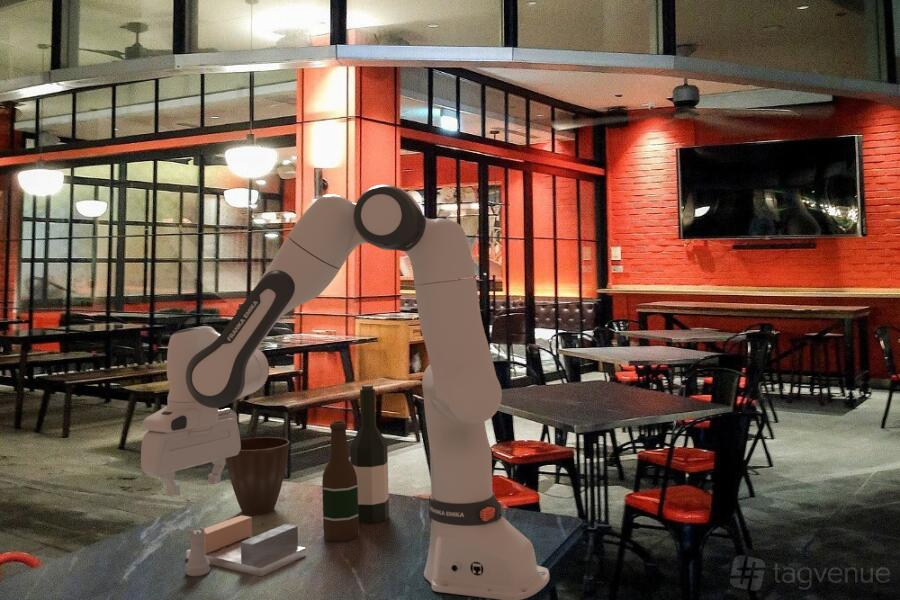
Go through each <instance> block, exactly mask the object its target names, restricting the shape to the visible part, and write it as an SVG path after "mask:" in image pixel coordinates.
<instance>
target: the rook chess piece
mask: <svg viewBox="0 0 900 600" xmlns="http://www.w3.org/2000/svg"><path fill="white" fill-rule="evenodd" d="M198 528H199V529H198ZM204 529H205V528H204V527H194V528H191V529H190V530H189V534H188V535H187V537H188V538H189V539H190V542H189V545H190V549H191V550H190V557H189V559H187V561H188V562H187V563H186V565H185V569H186V570H185V574H186V575H187V576H188V577H201V576H205V575H208V573H209V572H210V571H211V566H210V565H211V564H210V562H209V560H208V558H207V557H206V554H205V548H204V543H205V541H204V537H205V535H206V532H205V531H204Z"/></svg>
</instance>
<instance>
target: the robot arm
mask: <svg viewBox="0 0 900 600" xmlns="http://www.w3.org/2000/svg"><path fill="white" fill-rule="evenodd" d="M467 238H468V237H467V235H466V232H465V229H464V228H463V227H462V226H461V224H459V222H456V221H454V220H452V219H448V218H428V217H426V216H425V215H424V214H423V211H422V208H421V206H420V205H419V204H418V203H417V201H416V199H415V198H414V197H413V195H411V194H410V193H409V192H407V191H406V190H403V189H402V188H399V187H397V186H395V185H394V186H393V184H391V185H390V184H379V185H378V184H377V185H375V186H372V187H370V188H368V189H367V190H365V191H364V192H363V193H362V194H361V195H360V196H359V198H358V199H357V200H356V202H352V201H350V200H349V199H347V198H346V197H344V196H341V195H337V194H332V193H331V194H328V193H327V194H324V195H321V196H320V197H318V198H317V199H316V200H315V201H314V202H313V203H312V204H311V205H310V206H309V207H308V208H307V209H306V210H305V212H303V214H302V216H301V217H300V218H299V219H298V221H296V223H295V225H294V226H293V228H292V229H291V230H290V232H289V234H288V235H287V236H286V238H285V239H284V241H283V243H282V244H281V246H280V247H279V249H278V251H277V252H276V254H275V256H274V257H273V258H272V259H273V260H272V261H271V262H270V263H269V266H268V268H267V269H266V270H265V272H264V273H263V275H262V277H261V278H260V280H259V281H258V283H257V285H256V286H255V287H254V288H253V289H252V291H251V293H250V294H249V295H247V298H245V300H244V302H243V303H242V304H241V305H240V307H239V308H238V310H237V312H236V313H235V314H234V315H233V316H232V318H231V320H229V322H228V324H227V325H226V326H225V328H224V329H223V331H221V333H220V332H218V331H216V329H215V328H214V327H212V326H208V325H203V326H202V325H201V326H197V327H195V326H194V327H188V328H185V329H181V330H180V329H179V330H178V331H175V332H174V333H173V334H172V335H171V336H170V338H169V342H168V345H167V353H166V354H167V355H166V357H167V358H166V360H167V361H166V378H167V382H168V384H169V390H168V394H167V401H166V402H167V405H166V406H164V407H162V408H161V409H159V410H158V411H155V412H154V413H152V414H151V415H148V416H147V417H145V418H144V419H143V421H142V428H143V430H145V431H146V432H145V434H144V435H143V437H142V441H141V449H140V466H141V471H143V473H144V474H145V475H147V476H152V477H159V476H160V478H161V479H160V480H162V482H163V483H164V485H165V487H166V495H167V496H168V497H171V498H173V497H176V496H179V495H180V494H181V491H180V490H181V486H180V484H176V482H175V481H174V479H173V478H175V477H176V472H177V471H178V472H179V471H182V470H186V469H189V468H193V467H197V466H200V465H205V464H208V463H212V464H213V468H212V471H211V473H210V474H208V477H207V478H208V479H207V481H208V484H209V485H216V484H220V483H221V481H222V480H221V479H222V477H221V474H222V472H223V470H224V469H225V465H226V458H228V457H232V456H236V455H238V453H239V451H240V449H241V443H240V439H241V435H240V429H239V424H238V416H237V415H238V414H237V413H236V412H235V411H234V410H233V409H232V408H230V407H227V406H228V405H230V404H232V403H233V402H235V401H237V400H239V399H242V398H245V397H246V396H249V395H251V394H254V393H255V392H257V391H259V390H260V389H262V387H264V385H265V384H266V382H267V380H268V378H269V375H270V365H269V364H270V363H269V361H268V358H267V356H266V355H265V353H264V352H263V351H262V350H261V349H259V348H260V345H261V344H262V343H263V341H264V340H265V338H266V337H267V336H268V334H269V333H270V331H271V330H272V329H273V327H274V326H275V324H277V322H278V321H280V319H281V318H282V317H284V316H285V315H286V314H288V313H289V312H291V311H292V310H294V309H295V308H298V307H300V306H301V305H303V304H306V303H307V302H310V301H311V300H314V299H316V298H318V297H319V296H320V295H321V294H322V293H323V291H324V290H325V291H326V289H327V288H328V286H330V284H331V283H332V282H333V281H334V279H335V278H336V276H337V275H338V273H339V272H340V270H341V268H343V265H344V264H345V263H346V260H348V257H349V256H350V255H351V253H353V251H354V250H355V249H356V248H357V247H359V246H360V245H362V244H365V243H366V244H370V245H372V246H374V247H376V248H379V249H380V250H384V251H401V252H404V253H405V254H406V256H407V257H408V259H409V261H410V266H411V269H412V270H411V271H412V275H413V285H414V291H415V292H414V293H415V298H416V299H415V300H416V306H417V307H416V308H417V314H418V321H419V329H420V332H421V335H422V336H423V337H422V338H423V341H424V345H425V348H426V352H427V357H428V360H429V364H428V366H427V367H426V368H425V370H424V372H423V375H422V378H421V379H422V380H421V385H422V386H421V387H422V393H423V394H422V395H423V406H424V416H425V424H426V425H425V426H426V430H427V431H426V432H427V438H428V446H429V456H430V459H429V460H430V463H429V465H430V492H431V493H430V495H429V496H428V515H429V516H428V517H429V518H428V519H429V522H430V534H429V535H430V536H429V547H428V552H427V553H428V554H427V558H426V564H425V566H424V570H423V576H424V578H425V579H426V580H427V581H428V582H429V583H430V585H431V590H432V591H434V592H437V593H445V594H452V595H460V596H461V595H462V596H470V597H475V598H477V597H478V598H484V599H492V600H493V599H495V600H524V599H527V598H529V597H532V596H533V595H536V594H537V593H538V592H540V591H541V590H542V589H544V588H545V587H546V585H547V584H548V583H549V581H550V576H551V575H550V570H549V568H547V567H544V566H540V565H538V564H537V563H538V562H537V558H536V552H535V549H534V545H533V543H532V542H531V540H530V539H528V537H526V536H525V535H524V534H523V533H522V532H520V530H518V529H517V528H516V527H514V525H512V524H511V523H510V521H508V520H507V519H506V518H505V517H503V513H502V509H503V508H505V507H506V504H505V503H506V502H507V501H506V499H503V500H501V501H499V500H498V499H497V497H496V495H495V494H494V493H493V467H492V465H493V463H492V459H493V457H492V449H491V445H490V443H489V438H488V434H487V429H486V422H487V421H489V420H490V419H492V418H493V416H494V415H495V414H496V413H497V411H498V410H499V409H500V406H501V403H502V400H503V399H502V398H503V391H502V386H501V384H500V381H499V379H498V377H497V374H496V369H495V366H494V362H493V357H492V354H491V349H490V346H489V343H488V339H487V336H486V333H485V328H484V325H483V324H484V323H483V320H482V314H481V308H480V307H481V306H480V301H479V300H480V299H479V293H478V286H477V278H476V271H475V265H474V261H473V256H472V255H473V254H472V252H471V247H470V244H469V242H468V239H467ZM224 407H226V408H224ZM221 408H223V409H221Z"/></svg>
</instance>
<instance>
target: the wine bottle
mask: <svg viewBox="0 0 900 600" xmlns="http://www.w3.org/2000/svg"><path fill="white" fill-rule="evenodd" d="M359 396H360V397H359V398H360V399H359V404H360V405H359V406H360V410H359V411H360V427H359V429H358V430H357V433H356V435H355V436H354V438H353V440H352V442H351V444H350V445H349V447H350V448H349V449H350V462H351V463H352V465H353V467H354V469H355V472H356V475H357V484H358V523H359V524H370V525H372V524H373V525H374V524H377V523H378V524H379V523H382V522H386V521H387V520H388V518H389V517H390V504H389V503H390V500H389V497H390V496H389V463H388V462H389V460H388V459H389V457H388V456H389V455H388V442H387V440H386V439H385V438H384V436H383V435H382V433H381V431H380V430H379V428H378V426H377V417H376V416H377V413H376V412H377V411H376V388H374V385H373V384H362V385H361V388H360V389H359Z"/></svg>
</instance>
